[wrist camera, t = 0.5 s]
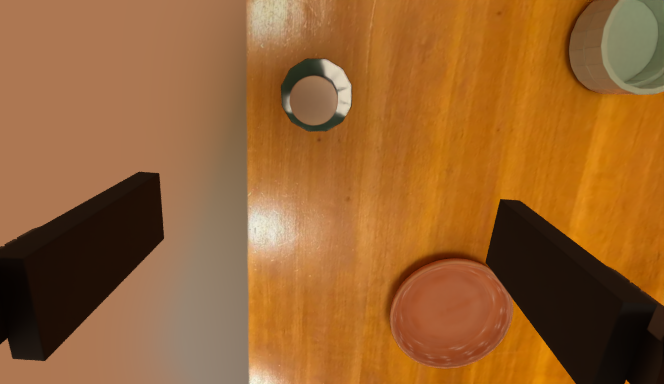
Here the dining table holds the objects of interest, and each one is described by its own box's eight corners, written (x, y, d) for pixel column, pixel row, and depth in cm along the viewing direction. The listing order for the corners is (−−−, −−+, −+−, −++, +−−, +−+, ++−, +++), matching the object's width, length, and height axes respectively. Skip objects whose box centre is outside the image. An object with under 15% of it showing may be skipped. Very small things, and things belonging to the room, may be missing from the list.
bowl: (573, -11, 42) (613, -27, 36) (671, -11, 42) (727, -27, 36) (557, 94, 45) (592, 94, 39) (650, 93, 45) (698, 94, 39)
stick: (305, 82, 43) (288, 75, 20) (328, 82, 43) (337, 75, 20) (306, 106, 44) (290, 125, 21) (328, 106, 44) (337, 125, 21)
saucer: (430, 374, 55) (436, 390, 52) (363, 298, 51) (365, 311, 48) (524, 311, 53) (536, 324, 50) (460, 227, 49) (469, 236, 46)
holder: (288, 64, 43) (279, 58, 34) (346, 64, 43) (352, 58, 35) (290, 123, 45) (282, 131, 36) (345, 123, 45) (351, 131, 36)
